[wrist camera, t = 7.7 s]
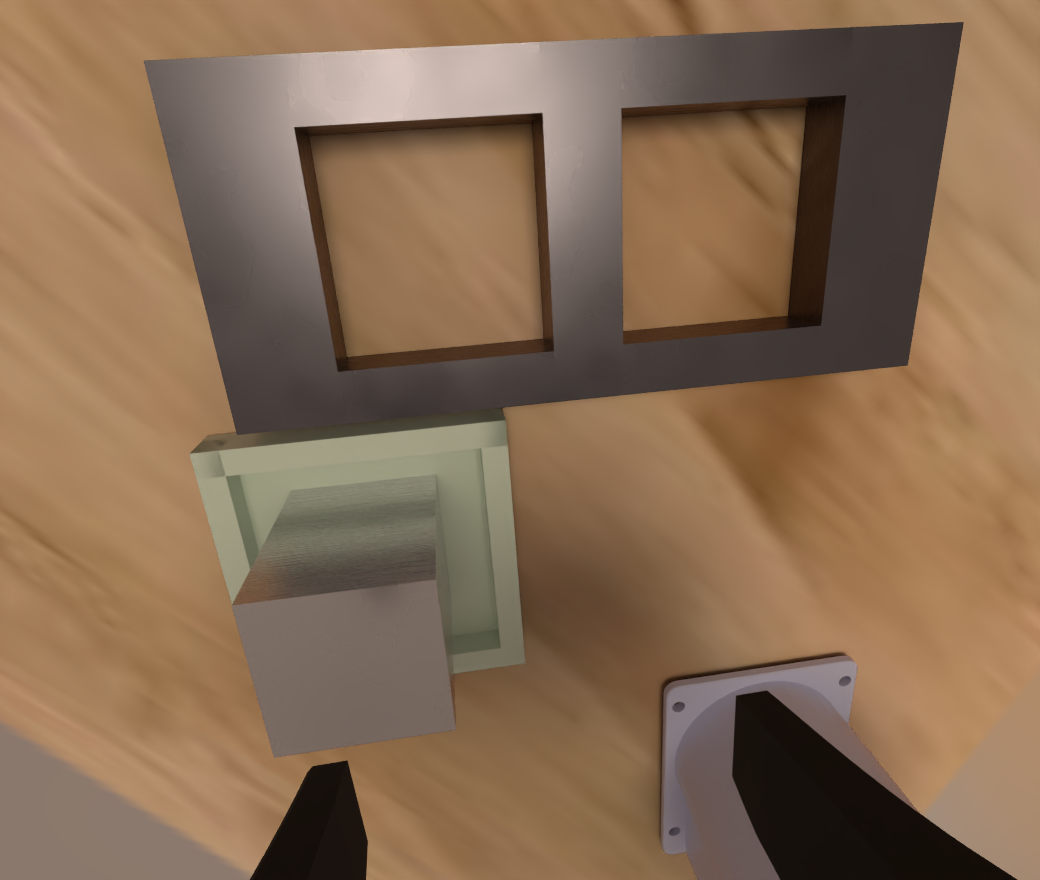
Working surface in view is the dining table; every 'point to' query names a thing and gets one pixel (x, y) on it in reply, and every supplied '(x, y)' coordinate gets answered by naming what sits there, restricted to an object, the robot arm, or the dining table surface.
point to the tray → (373, 457)
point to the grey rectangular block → (351, 617)
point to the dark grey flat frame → (555, 210)
